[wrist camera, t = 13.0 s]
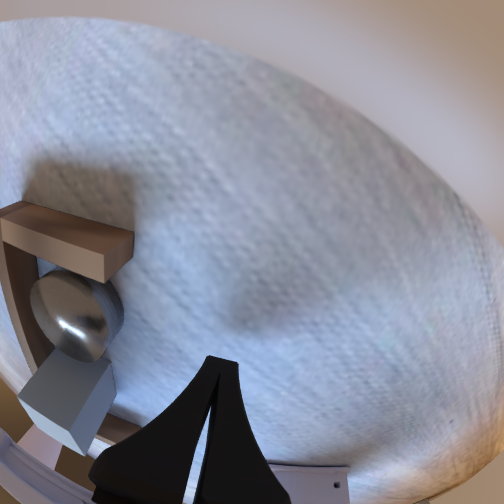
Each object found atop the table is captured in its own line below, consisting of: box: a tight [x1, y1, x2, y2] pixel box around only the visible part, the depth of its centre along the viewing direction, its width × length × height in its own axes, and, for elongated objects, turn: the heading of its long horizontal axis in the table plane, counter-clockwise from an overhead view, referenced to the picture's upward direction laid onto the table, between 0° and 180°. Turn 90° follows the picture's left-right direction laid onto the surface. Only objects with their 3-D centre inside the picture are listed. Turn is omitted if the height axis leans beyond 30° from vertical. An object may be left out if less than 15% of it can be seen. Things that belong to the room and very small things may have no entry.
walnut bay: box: [0, 201, 141, 446], centre depth 13 cm, size 8×18×2 cm, turn 166°
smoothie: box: [17, 424, 63, 470], centre depth 15 cm, size 6×6×14 cm
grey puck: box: [30, 266, 124, 363], centre depth 12 cm, size 5×5×2 cm
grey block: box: [17, 347, 116, 456], centre depth 13 cm, size 4×4×6 cm
